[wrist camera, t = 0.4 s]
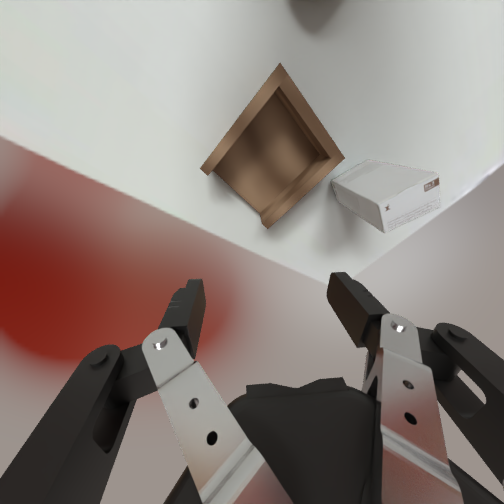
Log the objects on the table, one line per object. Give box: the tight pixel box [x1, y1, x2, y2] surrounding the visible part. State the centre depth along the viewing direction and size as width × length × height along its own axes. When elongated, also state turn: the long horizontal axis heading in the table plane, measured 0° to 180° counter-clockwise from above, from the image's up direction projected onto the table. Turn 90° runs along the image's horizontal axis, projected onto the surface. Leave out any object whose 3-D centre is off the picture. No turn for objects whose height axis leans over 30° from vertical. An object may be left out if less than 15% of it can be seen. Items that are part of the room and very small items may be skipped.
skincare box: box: [331, 160, 440, 233], centre depth 25 cm, size 6×4×12 cm
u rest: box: [200, 63, 345, 229], centre depth 25 cm, size 13×12×5 cm
